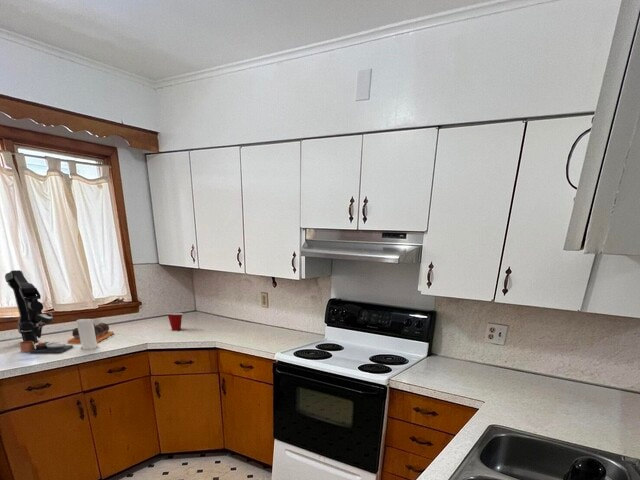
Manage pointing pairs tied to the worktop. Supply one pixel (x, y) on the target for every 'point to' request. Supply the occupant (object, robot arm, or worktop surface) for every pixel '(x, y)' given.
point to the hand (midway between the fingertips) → (39, 337)
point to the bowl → (26, 346)
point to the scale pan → (54, 344)
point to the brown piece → (100, 333)
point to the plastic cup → (175, 320)
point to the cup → (87, 333)
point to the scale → (51, 349)
